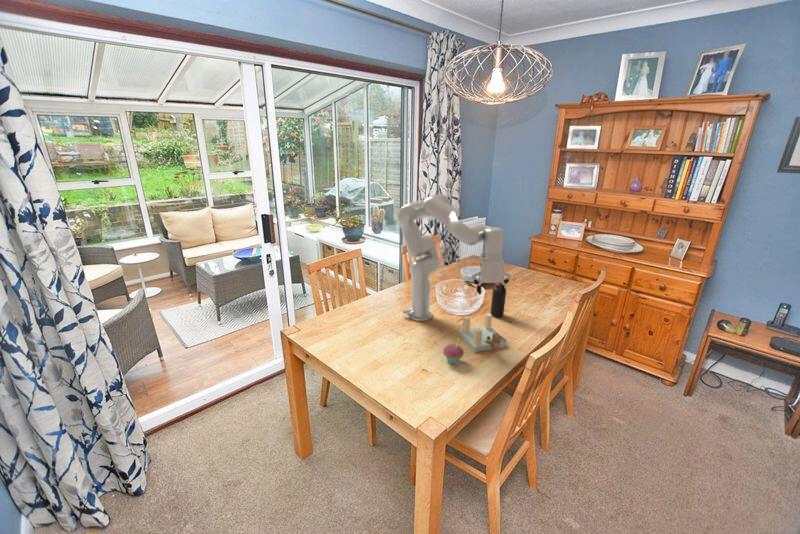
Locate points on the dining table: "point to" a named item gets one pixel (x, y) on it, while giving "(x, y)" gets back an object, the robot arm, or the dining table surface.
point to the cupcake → (453, 353)
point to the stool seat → (479, 334)
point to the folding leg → (494, 341)
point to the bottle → (497, 301)
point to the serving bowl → (470, 272)
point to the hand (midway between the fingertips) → (490, 293)
